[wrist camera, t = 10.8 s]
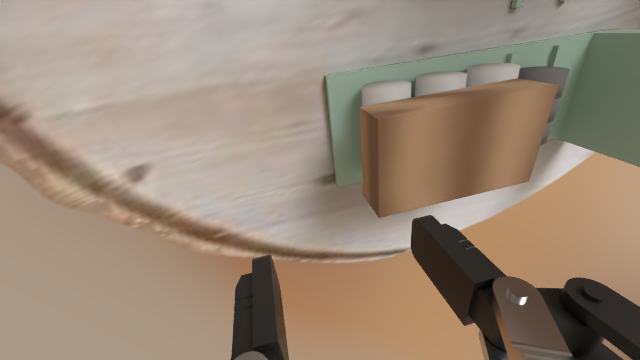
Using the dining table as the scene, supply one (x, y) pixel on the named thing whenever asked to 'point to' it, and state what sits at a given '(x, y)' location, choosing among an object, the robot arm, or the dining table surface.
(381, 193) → the walnut slab
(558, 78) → the roller
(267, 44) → the dining table surface
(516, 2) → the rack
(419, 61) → the roller track
